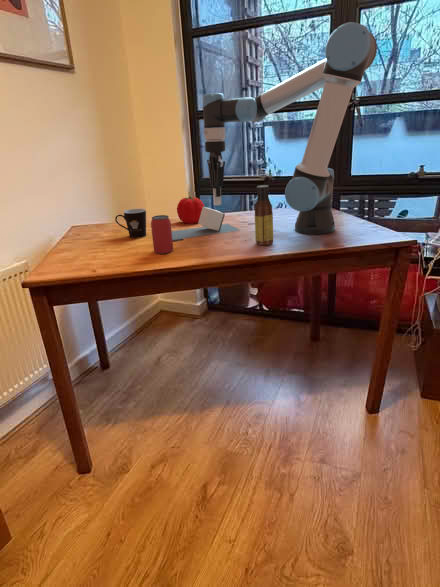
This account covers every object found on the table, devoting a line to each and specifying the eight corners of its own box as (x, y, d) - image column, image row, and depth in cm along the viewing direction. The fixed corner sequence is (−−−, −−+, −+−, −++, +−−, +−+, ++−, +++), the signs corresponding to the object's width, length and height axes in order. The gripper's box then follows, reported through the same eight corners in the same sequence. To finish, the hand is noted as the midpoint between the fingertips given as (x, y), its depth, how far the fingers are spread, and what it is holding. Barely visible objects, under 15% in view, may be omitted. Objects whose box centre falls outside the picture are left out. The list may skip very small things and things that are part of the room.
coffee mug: (153, 234, 154) (150, 209, 150) (140, 239, 147) (137, 213, 143) (129, 232, 158) (126, 207, 154) (116, 237, 151) (112, 212, 147)
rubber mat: (240, 231, 151) (240, 230, 151) (172, 241, 142) (172, 240, 142) (227, 225, 162) (227, 223, 162) (163, 233, 153) (163, 232, 153)
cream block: (225, 213, 149) (209, 209, 146) (219, 231, 151) (203, 227, 148) (218, 210, 155) (202, 206, 152) (213, 227, 157) (198, 223, 154)
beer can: (157, 255, 127) (153, 220, 122) (151, 250, 132) (147, 216, 127) (176, 252, 130) (173, 217, 125) (169, 247, 135) (166, 213, 130)
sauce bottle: (273, 241, 136) (274, 184, 129) (272, 246, 131) (273, 187, 123) (255, 241, 138) (255, 184, 130) (253, 246, 132) (253, 187, 124)
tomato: (173, 226, 164) (171, 199, 160) (183, 219, 176) (181, 193, 172) (201, 226, 162) (199, 199, 157) (209, 219, 173) (207, 193, 169)
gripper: (199, 140, 145) (203, 203, 155) (211, 141, 134) (214, 208, 144) (217, 139, 148) (220, 201, 157) (231, 140, 137) (232, 206, 146)
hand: (217, 204), depth 150 cm, fingers closed
